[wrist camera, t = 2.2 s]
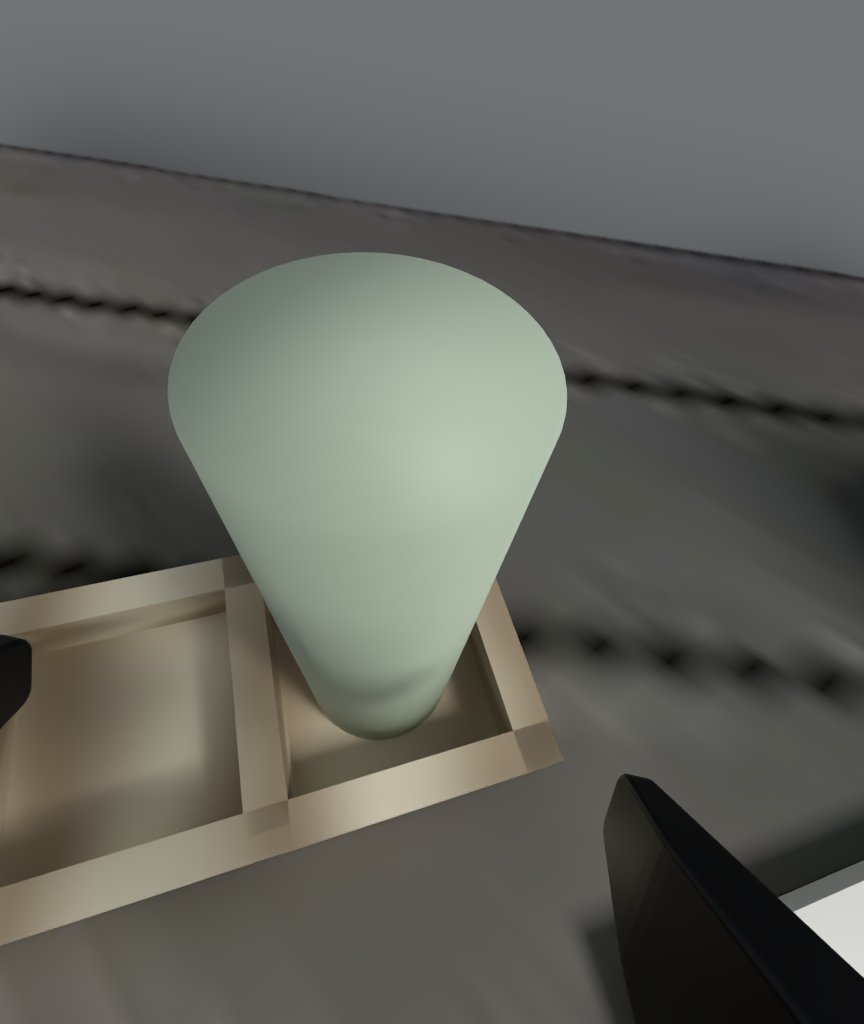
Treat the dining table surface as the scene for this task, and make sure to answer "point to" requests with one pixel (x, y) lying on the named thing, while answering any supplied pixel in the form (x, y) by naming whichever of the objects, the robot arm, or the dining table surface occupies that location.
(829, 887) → the board
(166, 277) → the dining table surface
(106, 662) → the frame
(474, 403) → the round block
